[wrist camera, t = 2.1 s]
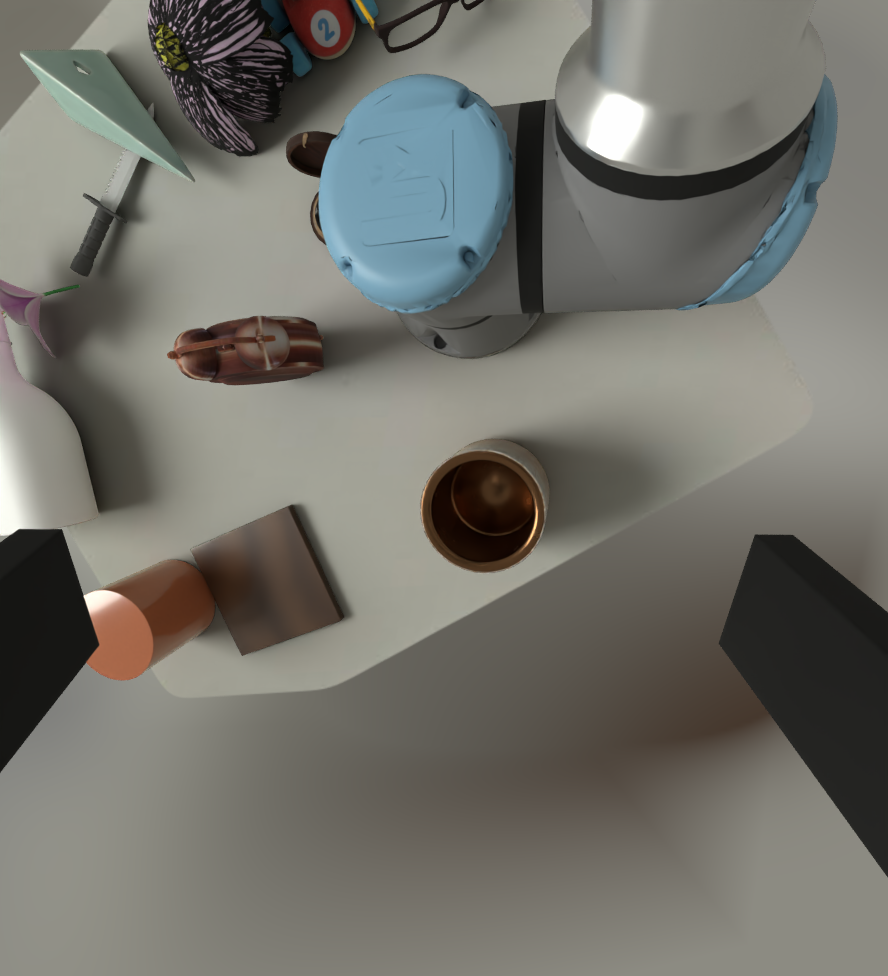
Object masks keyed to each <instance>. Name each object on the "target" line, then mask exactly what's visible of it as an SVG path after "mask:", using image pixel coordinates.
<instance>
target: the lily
mask: <svg viewBox="0 0 888 976" xmlns="http://www.w3.org/2000/svg"><path fill="white" fill-rule="evenodd" d="M79 287H80V286H79V285H74V286H70V287H65V288H61V289H57V290H53V291H50V292H46V293H42V294H37V293H33V292H30V291H27V290H24V289H21V288H19V287H16V286H14V285H11V284H9V283H7V282H4V281H2V280H1V279H0V306H1V308H2V309H3V310H4V311H2V312H3V313H1V314H2V315H3V314H4V313H6V314H7V315H8V316H9V317H10V318H11V319H12V320H14V321H15V322H16V323H18V324H20V325H29V327H30V328H31V330H32V331H33V332H34V334H35V335H36V336H37V337H38V339H39V341H40V343H41V345H42V346H43V348H44V349H45V350H46V351H47V352H48V353H49V354H50V355H52V356H53V357H54V358H56V357H55V356H54V355H53V353H52V352H51V351H50V349H49V348H48V346H47V345H46V343H45V342H44V340H43V338H42V336H41V334H40V330H39V313H40V302H41V299H42V297H44V296H47V295H50V294H54V293H58V292H62V291H66V290H70V289H74V288H79ZM7 315H6V316H7ZM6 316H5V317H6ZM5 317H4V318H5ZM56 359H57V358H56Z"/></svg>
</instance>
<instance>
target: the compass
mask: <svg viewBox="0 0 888 976" xmlns="http://www.w3.org/2000/svg"><path fill="white" fill-rule="evenodd" d="M336 137H337V135H334V134H330V133H327V132H319V131H312V132H304V133H300V134H297V135H295V136H294V137H292V138H290V140H289V141H288V142H287V146H286V157H287V159H288V162H289V163H290V164H291V165H292V166H293V167H294V168H295V169H297V170H298V171H300V172H302V173H305V174H307V175H310V176H314V177H318V178H321V173H322V168H323V164H324V161H325V157H326V154H327V151H328V149H329V146H330V144H331V142H332V140H333V139H335V138H336ZM310 218H311V225H312V228H313V231H314V233H315V234H316V236H317V237H318V239H319V240H320V241H322V242H323V243H324V244H325V245H326V242H325V239H324V236H323V232H322V228H321V223H320V216H319V192H318V193H317V194H316V195H315V198H314V200H313V202H312V206H311V211H310Z"/></svg>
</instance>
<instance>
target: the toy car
mask: <svg viewBox="0 0 888 976" xmlns="http://www.w3.org/2000/svg"><path fill="white" fill-rule="evenodd" d="M361 1H362V3H363V4H364V6H365V7H366V9H367V10H368V12H369V14H370V15H371V16H372V18H373V19H374V18H375V17H376V16H377V15H378V8H377V6H376V4H375V1H374V0H361ZM261 4H262V6H263V8H264V10H266V11H267V12H269V13H268V14H269V15H271V16H272V17H274V20H273V21H272V23H271V27H272V28H273V29H274V30H275V31H276V32H278V33H279V32H281V31H282V30H283V29H284V28H286V27H287V26H288V25H289V24H290V23H291V25H292V27H293V29H294V31H295V33H294V32H289V33H288V34H287V35H286V36H285V37H283V38H282V39H281V40H280V42H281V43H283V44H284V45H286V46H287V47H288V49H289V50H290V51H291V54H292V55H293V71H294V73H295V74H296V75H297V76H300V77H301V76H303V75H304V74H306V73H307V72H308V71H309V70H311V68H312V62H311V59H310V57H309V55H308V53H307V52H310V53H311V54H312V55H314V56H316V57H318V58H321V59H334V58H337V57H339V56H341V55H342V54H343V53H344V52H345V51H346V50H347V49H348V48H349V46H350V44H351V42H352V40H353V38H354V34H355V29H356V13H357V15H358V16H359V18H360V20H361V21H362V23H364V24H367V23H368V20H367V19H366V17H365V16H364V14H363V13H362V11H361V9H360V8H359V6H358V4H357V2H356V1H355V0H261ZM355 11H356V12H355Z"/></svg>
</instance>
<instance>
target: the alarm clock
mask: <svg viewBox="0 0 888 976" xmlns="http://www.w3.org/2000/svg"><path fill="white" fill-rule="evenodd" d="M322 339H323V336H322V335H319V333H318V330H317V326H316V324H315V323H314V322H311V321H309V320H307V319H304V318H299V317H288V316H269V317H266V316H253V317H250V318H245V319H238V320H232V321H227V322H223V323H219V324H216V325H213V326H211V327H209V328H207V330H205V329H203V328H197V329H191V330H187V331H184V332H183V333H181V334H180V335H179V336H178V337H177V339H176V341H175V343H174V351H170V352H169V353H168V354H167V356H168V358H170V359H175V361H176V364H177V366H178V368H179V369H180V371H181V372H182V373H183V374H184V375H186V376H187V377H189V378H192V379H195V380H202V381H210V382H214V383H224V384H227V385H249V384H261V383H271V382H279V381H286V380H292V379H297V378H302V377H306V376H309V375H311V374H312V373H314V372H318V371H321V370H323V369H324V365H323V351H322V345H321V341H320V340H322Z"/></svg>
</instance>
